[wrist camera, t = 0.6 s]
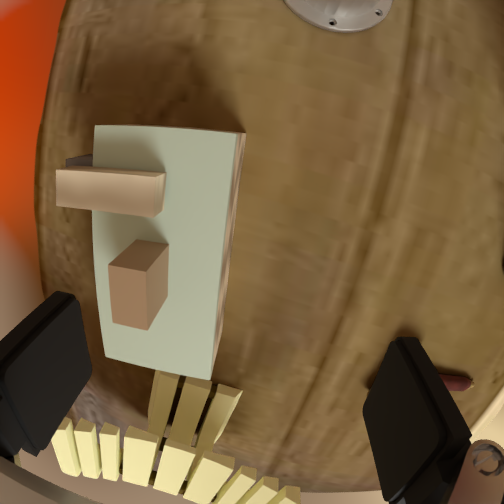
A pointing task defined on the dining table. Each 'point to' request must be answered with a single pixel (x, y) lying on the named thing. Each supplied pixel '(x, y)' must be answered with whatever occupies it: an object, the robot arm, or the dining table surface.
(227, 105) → the dining table surface
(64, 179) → the bar
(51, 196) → the dining table surface
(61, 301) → the robot arm
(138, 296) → the lid
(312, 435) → the dining table surface
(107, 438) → the slatted curved stool
